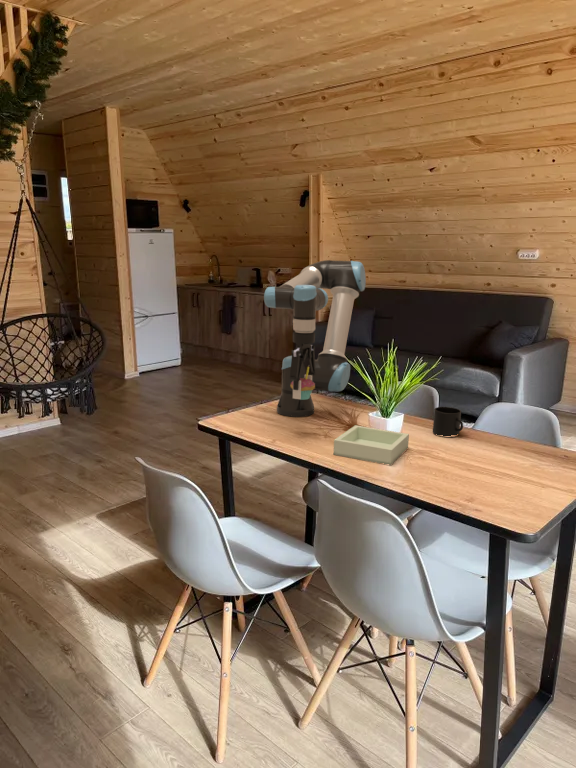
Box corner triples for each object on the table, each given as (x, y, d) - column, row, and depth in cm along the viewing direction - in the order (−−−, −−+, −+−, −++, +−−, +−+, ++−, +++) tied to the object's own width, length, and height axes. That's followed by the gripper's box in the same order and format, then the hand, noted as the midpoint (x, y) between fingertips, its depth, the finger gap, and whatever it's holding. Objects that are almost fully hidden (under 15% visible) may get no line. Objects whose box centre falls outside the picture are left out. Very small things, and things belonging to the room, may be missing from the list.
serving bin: (354, 438, 213) (355, 425, 212) (408, 448, 204) (409, 434, 203) (333, 454, 196) (334, 439, 195) (390, 465, 188) (391, 450, 187)
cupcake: (315, 395, 215) (316, 362, 212) (313, 401, 207) (314, 367, 204) (291, 394, 216) (291, 361, 213) (288, 400, 208) (289, 366, 205)
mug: (452, 441, 213) (455, 416, 211) (427, 432, 223) (429, 408, 221) (470, 437, 218) (472, 413, 216) (444, 428, 228) (446, 405, 226)
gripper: (307, 326, 216) (305, 388, 222) (279, 334, 198) (278, 401, 204) (326, 328, 213) (324, 390, 218) (300, 336, 195) (298, 404, 200)
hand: (302, 395), depth 211 cm, fingers closed on cupcake, 8 cm apart
